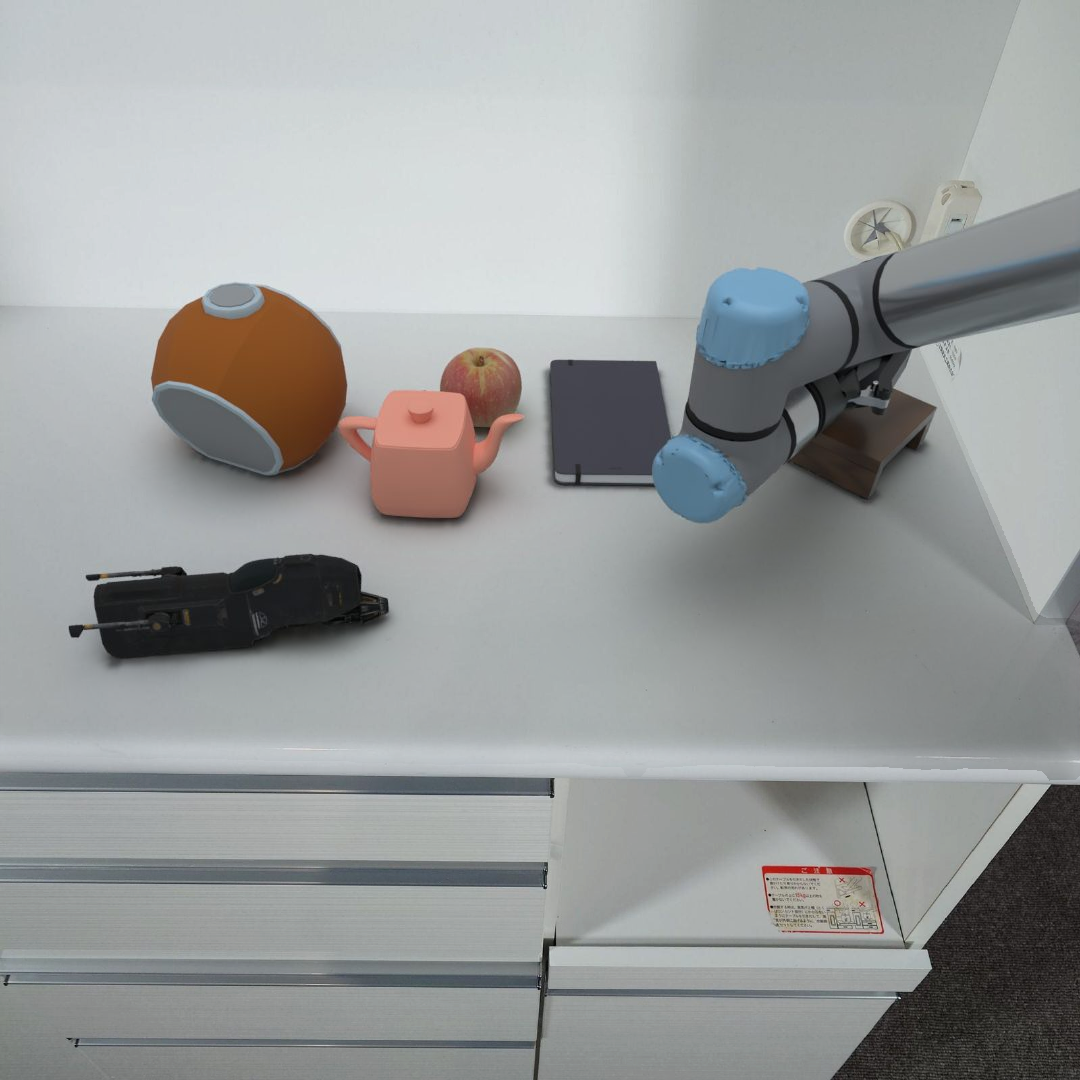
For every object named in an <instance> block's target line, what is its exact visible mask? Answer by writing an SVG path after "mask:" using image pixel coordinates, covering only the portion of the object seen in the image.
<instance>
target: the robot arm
mask: <svg viewBox="0 0 1080 1080" xmlns="http://www.w3.org/2000/svg"><path fill="white" fill-rule="evenodd" d="M707 290H708V291H707V293H706V298H705V302H704V305H703V308H702V311H701V315H700V320H699V323H698V325H697V326H696V334H695V342H696V343H695V350H694V357H693V362H692V363H693V364H692V369H691V376H690V383H689V390H688V395H687V401H686V402H685V405H684V411H683V417H682V424H681V428H680V431H679V432H678V434H677V435H675V436H672V437H671V439H669V440H668V442H667V444H666V445H665V446H664V447H663V448H662V449H661V450H660V451H659V452H658V453H657V455H656V457H655V459H654V461H653V466H652V477H653V482H654V485H655V486H654V488H655V490H656V492H657V494H658V496H659V497H660V499H661V500H662V502H663V503H664V504H665V505H666V506H667V508H668V509H669V510H670V511H672V512H673V513H674V514H677V515H678V516H680V517H682V518H683V519H685V520H686V521H690V522H693V523H697V524H710V523H713V522H716V521H718V520H720V519H722V518H723V517H724V516H725V515H727V514H728V513H729V512H731V511H732V510H733V509H734V508H737V507H740V506H741V505H743V504H744V503H745V502H746V500H748V498H749V497H750V496H751V495H752V494H753V493H754V492H755V491H757V490H758V489H759V488H760V487H761V486H762V485H763V484H764V483H765V482H766V481H767V480H768V479H770V477H772V476H773V475H774V474H775V473H776V472H777V471H778V470H779V469H781V467H782V466H784V465H785V464H786V463H788V461H789V462H790V459H791V458H792V457H793V456H794V455H795V454H797V453H798V452H799V451H800V450H801V449H802V448H803V447H805V446H806V445H807V444H808V443H809V442H810V441H811V440H812V439H814V438H815V437H816V436H818V435H819V434H820V433H821V432H822V431H823V430H824V429H826V428H827V427H828V426H829V425H830V424H831V423H832V422H833V421H834V420H835V419H836V418H837V417H838V416H839V415H840V414H841V413H842V412H844V411H847V410H851V409H854V408H855V407H856V406H857V404H859V405H866V406H871V410H872V412H873V413H874V414H876V415H884V414H885V411H886V409H887V406H888V403H889V400H890V397H891V394H892V391H893V388H894V387H895V386H896V384H897V382H898V381H899V379H900V378H901V377H902V375H903V373H904V371H905V370H906V368H907V365H908V363H909V360H910V357H911V354H912V351H913V350H914V349H919V348H921V347H924V346H928V345H934V344H939V343H943V342H947V341H952V340H957V339H962V338H965V337H966V338H967V337H972V336H977V335H980V334H985V333H989V332H994V331H999V330H1003V329H1008V328H1014V327H1018V326H1023V325H1027V324H1032V323H1038V322H1042V321H1047V320H1051V319H1056V318H1060V317H1064V316H1069V315H1074V314H1079V313H1080V187H1079V188H1076V189H1073V190H1071V191H1067V192H1065V193H1062V194H1058V195H1055V196H1053V197H1050V198H1046V199H1044V200H1041V201H1038V202H1036V203H1035V202H1034V203H1033V204H1029V205H1027V206H1024V207H1021V208H1018V209H1014V210H1012V211H1009V212H1007V213H1003V214H1000V215H998V216H994V217H991V218H989V219H986V220H983V221H980V222H977V223H974V224H971V225H969V226H966V227H963V228H960V229H958V230H954V231H952V232H949V233H946V234H943V235H939V236H937V237H934V238H931V239H928V240H925V241H922V242H919V243H915V244H914V245H911V246H908V247H905V248H902V249H901V250H898V251H895V252H890V253H886V254H883V255H879V256H876V257H872V258H870V259H867V260H864V261H862V262H860V263H858V264H856V265H855V264H854V265H852V266H849V267H846V268H844V269H841V270H838V271H835V272H832V273H829V274H827V275H823V276H821V277H819V278H816V279H812V280H807V281H805V282H800V281H799V280H798V278H795V277H794V276H792V275H791V274H788V273H786V272H784V271H779V270H777V269H773V268H769V267H768V268H767V267H756V268H755V269H749V268H746V267H739V268H735V269H732V270H728V271H726V272H724V273H722V274H721V275H720V276H718V277H717V278H715V280H714V281H713V282H712V283H711V285H710V286H709V288H708V289H707ZM893 353H894V354H893ZM888 354H893V355H892V357H891V358H890V360H889V361H888V363H887V364H886V366H885V367H884V369H883V370H882V372H881V373H880V375H879V378H878V381H873V382H872V385H870V386H868V387H867V389H865V390H861V388H860V384H859V381H860V380H862V379H863V378H864V377H866V376H867V375H869V374H870V373H872V372H873V371H875V370H876V369H877V368H879V365H880V361H881V358H882V356H883V355H888Z"/></svg>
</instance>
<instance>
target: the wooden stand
mask: <svg viewBox="0 0 1080 1080" xmlns="http://www.w3.org/2000/svg"><path fill="white" fill-rule="evenodd" d="M937 409H938V407H937V406H936V405H933V404H931V403H929V402H926V401H924V400H921V399H919V398H917V397H915V396H912V395H911V394H908V393H905V392H903V391H901V390H898V389H896V388H894V387H893V391H892V394H891V397H890V400H889V403H888V406H887V409H886V411H885V414H884V415H876V414H874V413H873V412H872V410H871V406H867V407H862V408H854V409H851V410H847V411H844V412H842V413H841V414H840V415H839V416H838V417H837V418H836V419H835V420H834V421H833V422H832V423H831V424H830V425H829V426H828V427H827V428H826V429H824V430H823V431H822V432H821V433H820V434H819V435H818V436H816V437H815V438H814V439H812V440H811V441H810V442H809V443H808V444H807V445H806V446H805V447H803V448H802V449H801V450H800V451H799V452H798V453H797V454H795V455H794V456H793V457H792V458H791V459H790V460H789V462H791V463H793V464H795V465H798V466H800V467H802V468H804V469H805V470H808V471H810V472H811V473H814V474H816V475H817V476H819V477H821V478H823V479H825V480H828V481H830V482H832V483H833V484H836V485H837V486H839V487H841V488H843V489H846V490H848V491H849V492H852V493H853V494H854V495H855V494H856V495H858V496H859V497H861V498H863V499H865V500H869V499H870V498H871V497H872V496H873V495H874V494H875V492H876V489H877V486H878V484H879V481H880V478H881V476H882V473H883V470H884V467H885V466H886V465H888V464H889V462H890V461H891V460H892V459H893V458H894V457H895V456H896V455H898V454H899V452H900V451H901V450H903V448H904V447H906V446H907V447H910V448H912V449H914V450H916V451H917V450H918V449H919V448H920V447H921V446H922V445H923V444H924V442H925V440H926V437H927V434H928V431H929V429H930V427H931V424H932V422H933V418H934V416H935V414H936V412H937Z"/></svg>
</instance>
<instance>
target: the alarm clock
mask: <svg viewBox="0 0 1080 1080" xmlns="http://www.w3.org/2000/svg"><path fill="white" fill-rule="evenodd" d="M150 381H151V388H152V396H151V402H152V405H153V406H154V408H155V411H156V412H157V414H158V416H159V417H160V419H162V421H163V422H164V423H165V424H166V425H167V426H168V427H169V428H170V430H171V431H173V433H174V434H175V435H176V436H177V437H179V438H180V439H181V440H183V441H184V442H185V443H186V444H188V445H189V446H190V447H191V448H192V449H194V450H195V451H197V452H198V453H200V454H201V455H204V456H205V457H206V458H209V459H211V460H214V461H219V462H221V463H224V464H228V465H230V466H234V467H237V468H241V469H244V470H247V471H251V472H254V473H257V474H260V475H264V476H275V475H279V474H281V473H285V472H288V471H291V470H295V469H297V468H298V467H299V466H301V465H303V464H304V463H306V462H307V461H309V460H310V459H312V458H313V457H314V456H315V454H317V452H318V451H319V450H320V449H321V448H322V446H323V445H324V444H325V443H326V442H327V441H328V440H329V438H330V436H331V435H332V433H333V432H334V431H335V429H336V428H337V427H338V424H339V422H340V421H341V417H342V416H343V412H344V410H345V408H346V404H347V393H348V381H347V373H346V366H345V363H344V357H343V350H342V344H341V343H340V341H339V340H338V338H337V337H336V335H335V333H334V331H333V330H332V328H331V326H330V325H328V323H327V322H326V321H324V319H322V317H321V316H320V315H318V314H317V312H315V311H314V309H312V308H311V307H309V306H308V305H307V304H305V303H303V302H302V301H300V300H299V299H297V298H296V297H295V296H292V295H291V294H289V293H287V292H285V291H283V290H280V289H277V288H274V287H272V286H269V285H267V284H256V283H255V284H254V283H249V282H237V281H236V282H235V281H233V282H228V283H227V282H226V283H222V284H219V285H216V286H214V287H211V288H210V289H208V290H207V291H206V293H205V294H204V295H203V296H201V297H199V298H196V299H195V300H193V301H190V302H188V303H186V304H185V305H184V306H182V308H180V309H179V310H178V311H177V312H176V313H175V314H174V315H173V316H172V317H171V318H170V319H169V320H168V322H167V324H166V326H165V327H164V329H163V331H162V333H161V335H160V337H159V338H158V340H157V345H156V350H155V355H154V361H153V366H152V371H151V376H150Z"/></svg>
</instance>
